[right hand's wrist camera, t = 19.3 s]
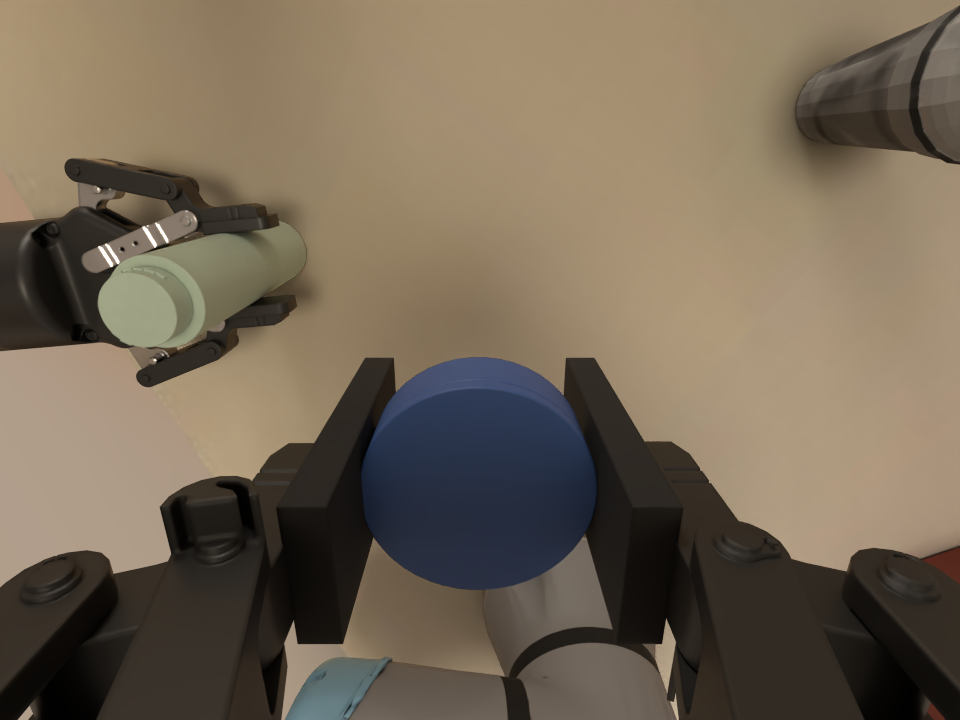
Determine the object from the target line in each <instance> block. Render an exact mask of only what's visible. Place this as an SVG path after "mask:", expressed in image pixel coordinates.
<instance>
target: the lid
mask: <svg viewBox="0 0 960 720" xmlns="http://www.w3.org/2000/svg"><path fill="white" fill-rule="evenodd" d="M361 482H362V493H363V504H364V514H365V520H366V523H367V525H368V528H369V530H370V531H371V533H372V535H373V536H374V538H375V540H376V541H377V542H378V544H379V545H380V546H381V547H382V549H383V550H384V551H385V552H386V553H387V554H388V555H389V556H390V557H391V558H392V559H393V560H394V561H396V562H397V563H398V564H400V565H401V566H402V567H404V568H405V569H407V570H408V571H410V572H412V573H413V574H415V575H417V576H419V577H421V578H424V579H426V580H428V581H431V582H434V583H437V584H440V585H443V586H448V587H452V588H458V589H467V590H489V589H499V588H504V587H509V586H514V585H517V584H520V583H523V582H526V581H529V580H531V579H533V578H535V577H538V576H540V575H542V574H543V573H545V572H547V571H548V570H550V569H552V568H553V567H554V566H556V565H557V564H558V563H560V562H561V561H562V560H563V559H564V558H565V557H567V556H568V555H569V554H570V553H571V552H572V551H573V549H574V548H575V547H576V546H577V544H578V543H579V542H580V541H581V539H582V537H583V536H584V534H585V532H586V531H587V529H588V527H589V524H590V522H591V519H592V517H593V514H594V510H595V506H596V498H597V475H596V470H595V466H594V462H593V459H592V457H591V454H590V451H589V449H588V446H587V444H586V441H585V439H584V436H583V433H582V431H581V428H580V426H579V423H578V420H577V418H576V415H575V413H574V411H573V409H572V408H571V406H570V404H569V402H568V401H567V400H566V399H565V397H564V396H563V395H562V393H561V392H560V391H559V390H558V389H557V388H556V387H555V386H554V385H553V384H552V383H550V382H549V381H548V380H546V379H545V378H544V377H542V376H541V375H539V374H538V373H536V372H534V371H532V370H530V369H529V368H526V367H524V366H521V365H519V364H516V363H513V362H509V361H505V360H502V359H495V358H487V357H470V358H462V359H455V360H451V361H447V362H443V363H441V364H438V365H435V366H433V367H430V368H428V369H426V370H425V371H423V372H421V373H419V374H417V375H416V376H414V377H413V378H412V379H410V380H409V381H408V382H406V383H405V384H404V385H403V386H402V387H401V388H400V389H399V390H398V391H397V392H396V393H395V394H394V396H393V397H392V398H391V400H390V401H389V402H388V404H387V406H386V407H385V409H384V411H383V413H382V415H381V417H380V420H379V422H378V425H377V427H376V430H375V432H374V435H373V437H372V440H371V442H370V445H369V447H368V450H367V453H366V455H365V458H364V460H363V463H362V468H361Z"/></svg>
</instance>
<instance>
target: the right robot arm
mask: <svg viewBox="0 0 960 720" xmlns="http://www.w3.org/2000/svg"><path fill="white" fill-rule="evenodd" d="M395 393H396V388H395V371H394V358H365V359H364V361H363V363H362V364H361V366H360V368H359V369H358V371H357V373H356V374H355V376H354V378H353V379H352V381H351V383H350V384H349V386H348V388H347V389H346V391H345V393H344V394H343V396H342V398H341V399H340V401H339V403H338V405H337V406H336V408H335V410H334V411H333V413H332V415H331V416H330V418H329V420H328V421H327V423H326V425H325V426H324V428H323V430H322V431H321V433H320V435H319V436H318V438H317V440H316V441H315V443H289V444H287V445H286V446H284V447H283V448H281V449H280V450H278V451H277V452H275V453H274V454H272V455H271V456H270V457H269V458H268V460H267V461H266V462H265V464H264V465H263V467H262V468H261V469H260V473H257V475H256V476H255V478H254V479H253V480H252V481H251V480H250V479H246V478H242V477H238V476H219V477H214V478H210V479H205V480H201V481H198V482H196V483H193V484H191V485H188V486H185V487H183V488H182V489H180V490H179V491H177V492H175V493H174V494H172V495H171V496H169V497H168V498H167V500H166V501H165V502H164V503H163V504H162V505H161V506H160V510H161V514H162V518H163V522H164V526H165V530H166V534H167V538H168V542H169V546H170V550H171V556H170V558H169V560H168V562H164V563H161V564H157V565H153V566H149V567H144V568H139V569H135V570H130V571H125V572H121V573H116V574H113V571H112V568H111V564H110V561H109V559H108V558H107V557H106V556H104V555H103V554H102V553H100V552H93V551H87V550H86V551H78V552H69V553H65V554H61V555H58V556H53V557H50V558H48V559H45V560H43V561H41V562H39V563H37V564H35V565H33V566H31V567H29V568H27V569H25V570H23V571H22V572H20V573H19V574H17V575H16V576H15V577H13V578H12V579H10V580H9V581H8V582H6V583H5V584H4V585H3V586H1V587H0V720H18V719H19V717H20V716H21V715H22V714H23V713H24V711H25V710H26V709H27V708H28V707H29V705H30V707H31V710H32V712H33V715H32V716H31V717H30V718H29V720H281V717H282V708H283V700H284V691H285V683H286V675H287V659H286V652H285V646H284V642H285V640H286V637H287V635H288V632H289V630H290V628H291V625H292V623H293V620H294V624H295V630H296V636H297V642H298V644H343V642H344V638H345V635H346V631H347V628H348V624H349V621H350V617H351V614H352V610H353V607H354V603H355V600H356V596H357V593H358V589H359V586H360V582H361V579H362V575H363V572H364V568H365V565H366V561H367V558H368V554H369V551H370V547H371V544H372V541H373V537H374V536H373V535H372V533H371V531H370V530H369V528H368V525H367V523H366V520H365V514H364V504H363V493H362V482H361V468H362V463H363V460H364V458H365V455H366V453H367V450H368V447H369V445H370V442H371V440H372V437H373V435H374V432H375V430H376V427H377V425H378V422H379V420H380V417H381V415H382V413H383V411H384V409H385V407H386V406H387V404H388V402H389V401H390V400H391V398H392V397H393V396H394V394H395ZM564 397H565V399H566V400H567V401H568V402H569V404H570V406H571V408H572V409H573V411H574V413H575V415H576V418H577V420H578V423H579V426H580V428H581V431H582V433H583V436H584V439H585V441H586V444H587V446H588V449H589V451H590V454H591V457H592V459H593V462H594V466H595V470H596V475H597V498H596V506H595V510H594V514H593V517H592V519H591V522H590V524H589V527H588V529H587V531H586V532H585V534H584V536H583V537H582V539H581V541H580V542H579V543H578V544H577V546H576V547H575V548H574V549H573V551H572V552H571V553H570V554H569V555H568V556H567V557H565V558H564V559H563V560H562V561H561V562H560V563H558V564H557V565H556V566H554V567H553V568H552V569H550V570H548V571H547V572H545V573H543V574H542V575H540V576H538V577H535V578H533V579H531V580H529V581H526V582H523V583H520V584H517V585H514V586H509V587H504V588H499V589H489V590H484V619H485V623H486V628H487V632H488V635H489V638H490V640H491V643H492V645H493V647H494V650H495V652H496V655H497V657H498V660H499V662H500V665H501V667H502V669H503V672H504V674H505V677H503V676H498V675H491V674H482V673H473V672H465V671H456V670H449V669H442V668H435V667H427V666H420V665H413V664H406V663H399V662H392V658H389V657H384V658H382V659H381V660H375V659H361V658H346V657H338V658H333V659H330V660H328V661H326V662H324V663H323V664H321V665H320V666H319V667H318V668H316V669H315V670H314V672H313V673H312V674H311V675H310V676H309V677H308V679H307V680H306V682H305V683H304V685H303V686H302V688H301V690H300V692H299V693H298V695H297V697H296V699H295V700H294V702H293V704H292V706H291V708H290V710H289V713H288V714H287V716H286V718H285V720H677V719H676V717H675V714H674V711H673V708H672V706H671V703H670V701H672V702H674V698H675V693H676V699H677V707H678V715H679V720H934V719H933V718H932V717H931V716H930V714H929V713H928V712H927V711H928V709H929V706H930V704H931V703H932V704H933V705H934V707H935V708H936V709H937V710H938V711H939V713H940V714H941V715H942V716H943V717H944V718H945V720H960V584H959V583H958V582H956V581H955V580H954V579H952V578H951V577H950V576H948V575H947V574H945V573H944V572H942V571H941V570H940V569H938V568H937V567H935V566H933V565H931V564H929V563H926V562H924V561H922V560H920V559H919V558H917V557H914V556H911V555H909V554H904V553H902V552H898V551H894V550H887V549H878V548H870V549H864V550H859V551H858V552H857V553H855V554H854V555H853V556H852V557H851V559H850V563H849V566H848V569H847V572H846V571H841V570H836V569H832V568H827V567H822V566H818V565H813V564H808V563H804V562H800V561H797V560H793V559H791V557H790V555H789V553H788V552H787V550H786V549H785V548H784V546H783V545H782V544H781V542H780V541H779V540H777V539H776V538H774V537H773V536H772V535H770V534H769V533H768V532H766V531H764V530H762V529H760V528H758V527H755V526H753V525H751V524H748V523H744V522H740V521H738V520H737V518H736V517H735V516H734V514H733V513H732V511H731V510H730V509H729V507H728V506H727V505H726V503H725V502H724V500H723V499H722V498H721V496H720V495H719V494H718V492H717V491H716V490H715V488H714V487H713V485H712V484H711V483H709V480H708V479H707V477H706V476H705V474H704V473H703V472H702V471H700V468H699V466H698V465H697V463H696V462H695V461H694V459H693V458H692V457H691V455H690V454H689V453H687V452H686V451H684V450H683V449H681V448H680V447H678V446H677V445H675V444H674V443H672V442H644V440H643V439H642V437H641V435H640V434H639V432H638V430H637V428H636V427H635V425H634V423H633V422H632V420H631V418H630V417H629V415H628V413H627V412H626V410H625V408H624V407H623V405H622V403H621V402H620V400H619V398H618V397H617V395H616V393H615V392H614V390H613V388H612V387H611V385H610V383H609V382H608V380H607V378H606V377H605V375H604V373H603V372H602V370H601V368H600V367H599V365H598V363H597V362H596V360H595V358H566V366H565V383H564ZM666 618H667V621H668V623H669V626H670V628H671V631H672V633H673V635H674V638H675V640H676V646H675V652H674V657H673V663H672V669H671V675H670V681H669V687H668V694H667V692H666V689H665V686H664V683H663V681H662V678H661V675H660V672H659V669H658V667H657V663H656V660H655V644H662V640H663V634H664V628H665V622H666Z"/></svg>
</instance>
